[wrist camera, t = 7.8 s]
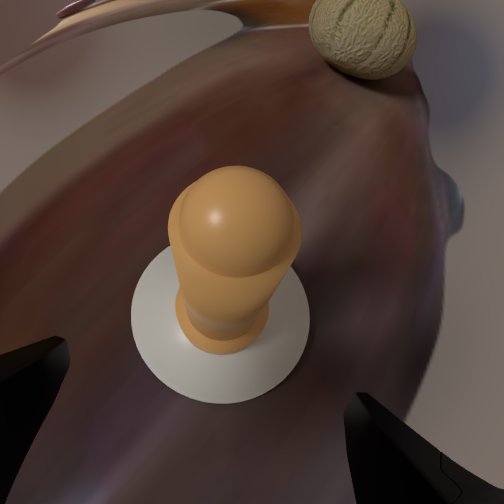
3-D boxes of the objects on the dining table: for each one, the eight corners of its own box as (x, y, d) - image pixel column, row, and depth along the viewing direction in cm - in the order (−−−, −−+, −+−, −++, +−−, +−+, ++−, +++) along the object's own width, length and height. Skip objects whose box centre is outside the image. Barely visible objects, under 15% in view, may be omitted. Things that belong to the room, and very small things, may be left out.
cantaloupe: (295, 78, 32) (326, -29, 19) (300, 39, 39) (322, -38, 26) (403, 114, 33) (451, 25, 20) (385, 67, 40) (416, -3, 27)
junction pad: (338, 323, 19) (343, 319, 19) (211, 438, 15) (212, 440, 14) (230, 211, 22) (231, 204, 21) (103, 299, 18) (98, 295, 17)
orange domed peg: (277, 336, 18) (375, 248, 7) (194, 367, 16) (168, 321, 6) (245, 261, 20) (287, 112, 9) (167, 286, 18) (124, 143, 8)
